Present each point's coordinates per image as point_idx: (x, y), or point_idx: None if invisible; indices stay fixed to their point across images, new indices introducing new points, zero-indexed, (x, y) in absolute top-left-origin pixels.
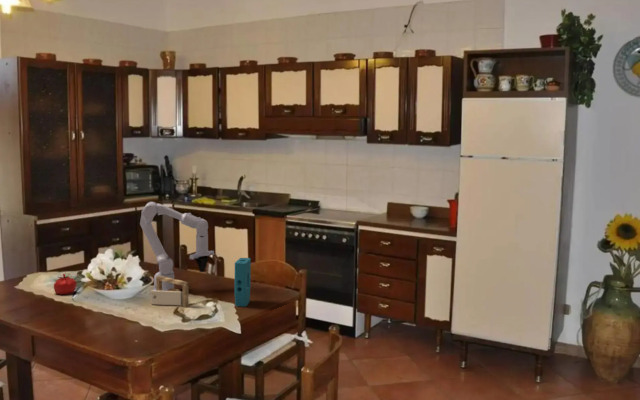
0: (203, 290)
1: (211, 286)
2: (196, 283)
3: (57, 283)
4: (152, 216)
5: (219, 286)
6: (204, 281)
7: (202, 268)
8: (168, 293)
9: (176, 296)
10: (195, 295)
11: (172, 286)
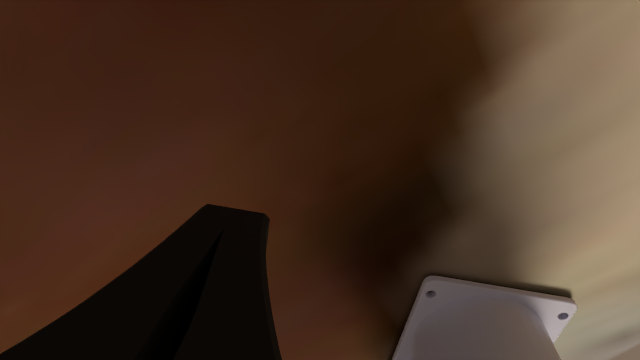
0: (285, 77)
1: (94, 100)
2: None
3: None
4: None
5: (19, 14)
6: (26, 256)
7: (264, 270)
8: None
9: None
10: (537, 23)
11: (500, 331)
